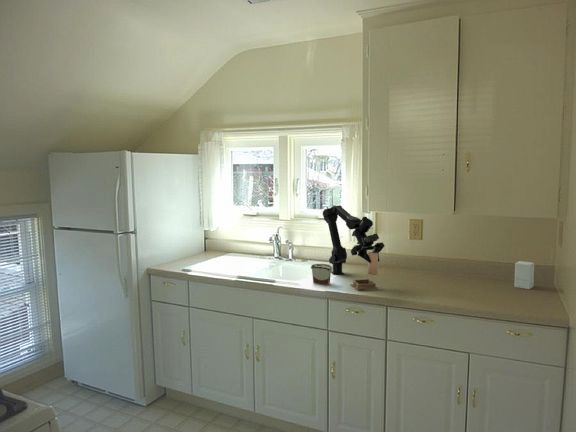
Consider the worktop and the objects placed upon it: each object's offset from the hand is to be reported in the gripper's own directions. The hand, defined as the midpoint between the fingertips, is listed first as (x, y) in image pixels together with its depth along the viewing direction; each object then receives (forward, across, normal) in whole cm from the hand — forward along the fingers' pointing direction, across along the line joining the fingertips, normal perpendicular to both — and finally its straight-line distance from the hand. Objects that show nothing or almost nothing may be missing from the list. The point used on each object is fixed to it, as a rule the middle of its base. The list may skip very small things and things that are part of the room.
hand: (374, 261), depth 227 cm
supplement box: (+36, +67, -17) cm, 78 cm away
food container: (-4, -19, +24) cm, 31 cm away
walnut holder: (+8, -5, +11) cm, 15 cm away
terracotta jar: (+4, 0, +6) cm, 7 cm away
